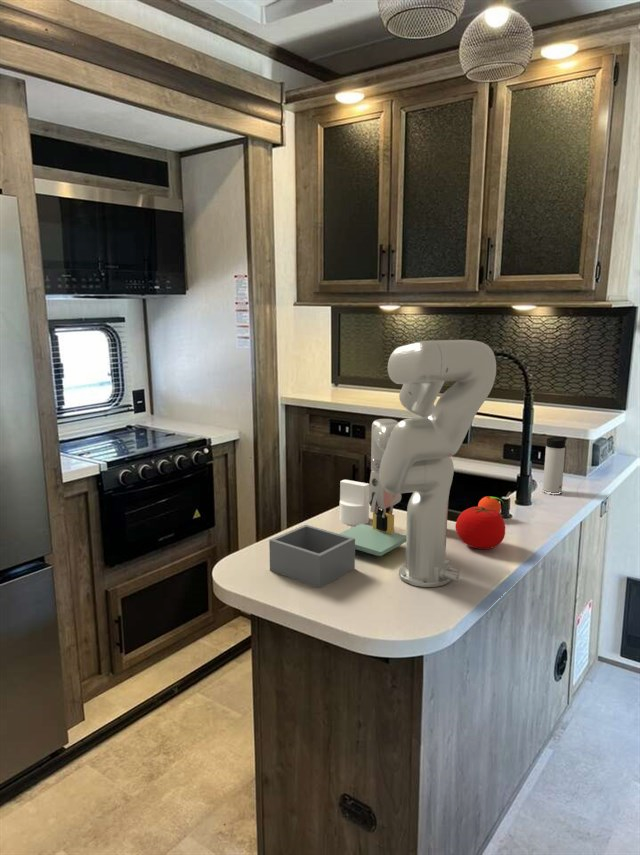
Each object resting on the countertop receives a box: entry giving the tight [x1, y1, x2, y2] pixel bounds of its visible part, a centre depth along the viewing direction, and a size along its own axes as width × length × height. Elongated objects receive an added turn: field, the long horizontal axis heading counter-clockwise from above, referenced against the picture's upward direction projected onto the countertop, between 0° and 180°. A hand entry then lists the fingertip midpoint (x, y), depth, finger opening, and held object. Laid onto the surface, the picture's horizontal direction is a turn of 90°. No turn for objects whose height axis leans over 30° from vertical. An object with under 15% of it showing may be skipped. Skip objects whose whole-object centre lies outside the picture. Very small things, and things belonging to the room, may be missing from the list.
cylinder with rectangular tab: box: [339, 479, 370, 526], centre depth 189 cm, size 9×9×12 cm
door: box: [339, 512, 406, 557], centre depth 167 cm, size 16×14×7 cm
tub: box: [268, 524, 356, 589], centre depth 154 cm, size 16×14×8 cm
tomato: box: [455, 506, 506, 550], centre depth 169 cm, size 12×13×11 cm
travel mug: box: [542, 436, 568, 493], centre depth 216 cm, size 6×7×20 cm
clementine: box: [477, 495, 505, 514], centre depth 192 cm, size 8×7×7 cm
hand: (383, 528), depth 172 cm, fingers closed on door, 1 cm apart
